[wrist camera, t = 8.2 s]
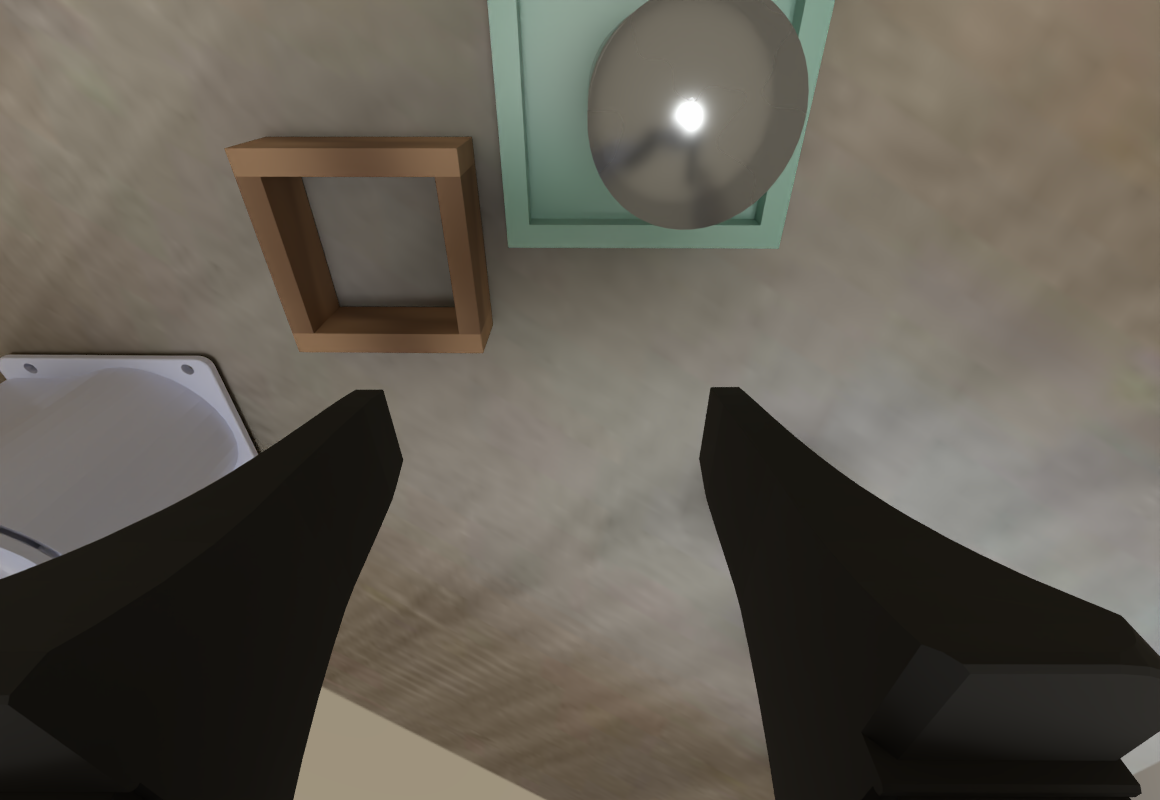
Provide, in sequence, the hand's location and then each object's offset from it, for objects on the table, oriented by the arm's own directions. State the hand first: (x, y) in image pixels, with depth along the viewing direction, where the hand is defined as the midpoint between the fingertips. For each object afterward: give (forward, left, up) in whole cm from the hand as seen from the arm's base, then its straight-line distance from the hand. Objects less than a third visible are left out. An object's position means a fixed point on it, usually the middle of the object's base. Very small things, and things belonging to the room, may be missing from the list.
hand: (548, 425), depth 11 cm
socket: (-7, +1, -10) cm, 12 cm away
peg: (+3, +6, -10) cm, 12 cm away
